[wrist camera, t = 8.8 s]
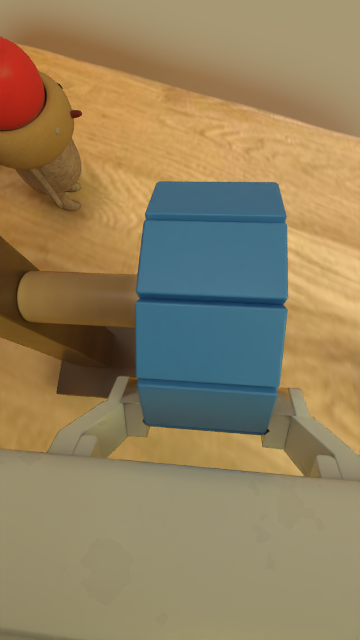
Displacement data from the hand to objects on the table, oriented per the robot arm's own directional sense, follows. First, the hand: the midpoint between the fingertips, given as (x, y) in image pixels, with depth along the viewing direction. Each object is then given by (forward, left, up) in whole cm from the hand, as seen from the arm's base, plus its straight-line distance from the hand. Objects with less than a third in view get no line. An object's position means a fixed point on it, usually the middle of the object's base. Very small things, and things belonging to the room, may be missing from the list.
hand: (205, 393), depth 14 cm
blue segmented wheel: (-3, +2, 0) cm, 4 cm away
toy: (-26, -1, -16) cm, 30 cm away
